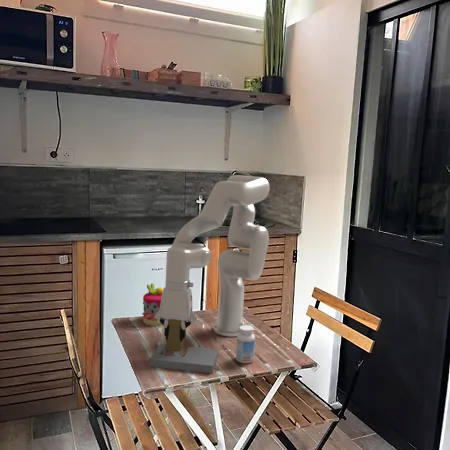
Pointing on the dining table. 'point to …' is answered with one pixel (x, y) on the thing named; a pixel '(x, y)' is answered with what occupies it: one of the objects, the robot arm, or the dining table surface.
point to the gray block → (186, 359)
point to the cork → (174, 336)
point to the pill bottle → (245, 344)
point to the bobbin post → (162, 337)
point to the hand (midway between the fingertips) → (174, 338)
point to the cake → (152, 305)
